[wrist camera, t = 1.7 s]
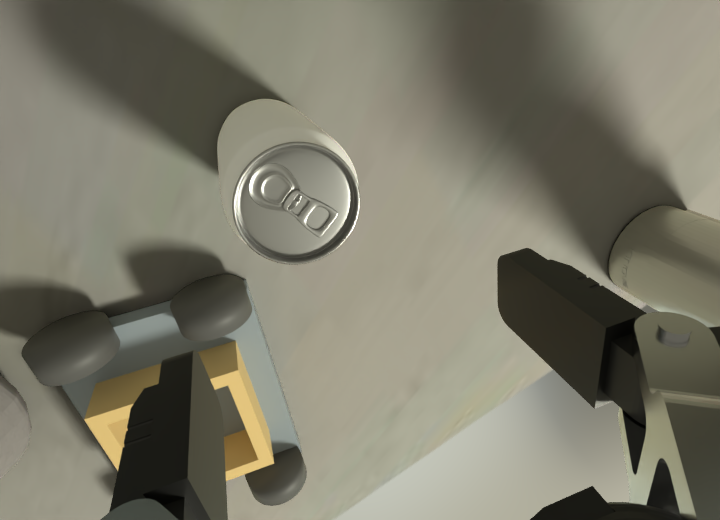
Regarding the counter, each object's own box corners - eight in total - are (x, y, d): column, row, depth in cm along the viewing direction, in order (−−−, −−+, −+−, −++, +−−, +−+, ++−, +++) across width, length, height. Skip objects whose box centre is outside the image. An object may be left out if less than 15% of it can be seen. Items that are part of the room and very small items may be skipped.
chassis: (241, 267, 33) (246, 302, 28) (301, 446, 42) (311, 492, 38) (37, 324, 30) (8, 372, 26) (149, 501, 40) (142, 557, 36)
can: (254, 75, 28) (282, 96, 17) (333, 138, 31) (397, 189, 20) (196, 159, 29) (189, 226, 18) (278, 212, 32) (312, 295, 22)
